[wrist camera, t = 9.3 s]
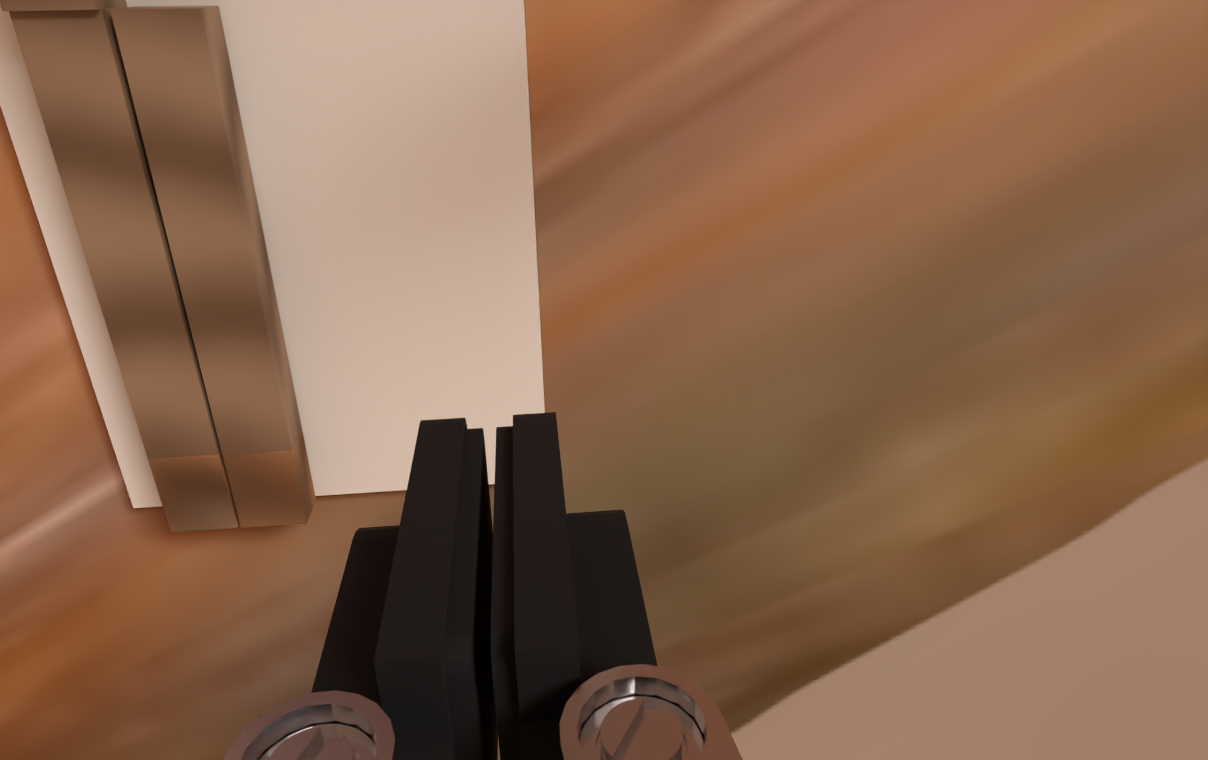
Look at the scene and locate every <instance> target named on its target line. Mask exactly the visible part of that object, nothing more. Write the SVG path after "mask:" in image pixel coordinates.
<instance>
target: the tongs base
mask: <svg viewBox="0 0 1208 760" xmlns="http://www.w3.org/2000/svg"><path fill="white" fill-rule="evenodd" d="M0 6H1V9H2V11H9V13H10V17H11V20H12V23H13V26H14V30H15V33H16V36H17V39H18V42H19V46H20V49H21V52H22V55H23V59H24V62H25V65H26V68H27V71H28V75H29V78H30V81H31V84H32V88H33V91H34V94H35V97H36V100H37V104H38V107H39V110H40V113H41V117H42V120H43V123H44V126H45V129H46V133H47V136H48V139H49V142H50V146H51V149H52V152H53V155H54V158H55V162H56V165H57V168H58V171H59V175H60V178H61V181H62V184H63V187H64V191H65V194H66V197H67V200H68V204H69V207H70V210H71V213H72V216H73V220H74V223H75V226H76V229H77V233H78V236H79V239H80V242H81V245H82V249H83V252H84V255H85V258H86V262H87V265H88V268H89V271H90V274H91V278H92V281H93V284H94V287H95V291H96V294H97V297H98V300H99V303H100V307H101V310H102V313H103V316H104V319H105V323H106V326H107V329H108V332H109V336H110V339H111V342H112V345H113V348H114V352H115V355H116V358H117V361H118V365H119V368H120V371H121V374H122V377H123V381H124V384H125V387H126V390H127V394H128V397H129V400H130V403H131V406H132V410H133V413H134V416H135V419H136V423H137V426H138V429H139V432H140V435H141V439H142V442H143V445H144V448H145V452H146V455H147V458H148V461H149V464H150V468H151V471H152V474H153V477H154V481H155V484H156V487H157V490H158V493H159V497H160V500H161V503H162V506H163V510H164V513H165V516H166V519H167V522H168V526H169V529H170V532H185V531H199V530H214V529H228V528H238V526H239V524H240V523H239V519H238V515H237V511H236V507H235V503H234V499H233V495H232V491H231V487H230V483H229V480H228V476H227V472H226V468H225V464H224V460H223V456H222V452H221V448H220V444H219V440H218V436H217V432H216V428H215V424H214V420H213V416H212V412H211V408H210V404H209V400H208V396H207V392H206V388H205V384H204V380H203V376H202V372H201V368H200V364H199V360H198V357H197V353H196V349H195V345H194V341H193V337H192V333H191V329H190V325H189V321H188V317H187V313H186V309H185V305H184V301H183V297H182V293H181V289H180V285H179V281H178V277H177V273H176V269H175V265H174V261H173V257H172V253H171V249H170V245H169V241H168V237H167V234H166V230H165V226H164V222H163V218H162V214H161V210H160V206H159V202H158V198H157V194H156V190H155V186H154V182H153V178H152V174H151V170H150V166H149V162H148V158H147V154H146V150H145V146H144V142H143V138H142V134H141V130H140V126H139V122H138V118H137V114H136V110H135V107H134V103H133V99H132V95H131V91H130V87H129V83H128V79H127V75H126V71H125V67H124V63H123V59H122V55H121V51H120V47H119V43H118V39H117V35H116V31H115V27H114V23H113V19H112V15H111V11H110V9H117V8H125V7H127V3H126V0H0Z"/></svg>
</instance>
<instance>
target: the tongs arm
mask: <svg viewBox="0 0 1208 760" xmlns="http://www.w3.org/2000/svg"><path fill="white" fill-rule="evenodd" d="M110 11H111V15H112V19H113V23H114V27H115V31H116V35H117V39H118V43H119V47H120V51H121V55H122V59H123V63H124V67H125V71H126V75H127V79H128V83H129V87H130V91H131V95H132V99H133V103H134V107H135V110H136V114H137V118H138V122H139V126H140V130H141V134H142V138H143V142H144V146H145V150H146V154H147V158H148V162H149V166H150V170H151V174H152V178H153V182H154V186H155V190H156V194H157V198H158V202H159V206H160V210H161V214H162V218H163V222H164V226H165V230H166V234H167V237H168V241H169V245H170V249H171V253H172V257H173V261H174V265H175V269H176V273H177V277H178V281H179V285H180V289H181V293H182V297H183V301H184V305H185V309H186V313H187V317H188V321H189V325H190V329H191V333H192V337H193V341H194V345H195V349H196V353H197V357H198V360H199V364H200V368H201V372H202V376H203V380H204V384H205V388H206V392H207V396H208V400H209V404H210V408H211V412H212V416H213V420H214V424H215V428H216V432H217V436H218V440H219V444H220V448H221V452H222V456H223V460H224V464H225V468H226V472H227V476H228V480H229V483H230V487H231V491H232V495H233V499H234V503H235V507H236V511H237V515H238V519H239V523H240V527H241V528H246V527H262V526H278V525H293V524H307V522H308V519H309V517H310V514H311V511H312V508H313V505H314V503H315V500H316V497H315V492H314V487H313V482H312V477H311V472H310V467H309V461H308V456H307V451H306V446H305V441H304V436H303V431H302V426H301V421H300V416H299V411H298V406H297V401H296V396H295V390H294V385H293V380H292V375H291V370H290V365H289V360H288V355H287V350H286V345H285V340H284V335H283V330H282V324H281V319H280V314H279V309H278V304H277V299H276V294H275V289H274V284H273V279H272V274H271V269H270V264H269V258H268V253H267V248H266V243H265V238H264V233H263V228H262V223H261V218H260V213H259V208H258V203H257V198H256V192H255V187H254V182H253V177H252V172H251V167H250V162H249V157H248V152H247V147H246V142H245V137H244V132H243V126H242V121H241V116H240V111H239V106H238V101H237V96H236V91H235V86H234V81H233V76H232V71H231V66H230V61H229V55H228V50H227V45H226V40H225V35H224V30H223V25H222V20H221V15H220V10H219V6H136V7H125V8H117V9H110Z"/></svg>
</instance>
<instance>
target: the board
mask: <svg viewBox="0 0 1208 760" xmlns="http://www.w3.org/2000/svg"><path fill="white" fill-rule="evenodd" d="M126 3H127V7H136V6H219V10H220V15H221V20H222V25H223V30H224V35H225V40H226V45H227V50H228V55H229V61H230V66H231V71H232V76H233V81H234V86H235V91H236V96H237V101H238V106H239V111H240V116H241V121H242V126H243V132H244V137H245V142H246V147H247V152H248V157H249V162H250V167H251V172H252V177H253V182H254V187H255V192H256V198H257V203H258V208H259V213H260V218H261V223H262V228H263V233H264V238H265V243H266V248H267V253H268V258H269V264H270V269H271V274H272V279H273V284H274V289H275V294H276V299H277V304H278V309H279V314H280V319H281V324H282V330H283V335H284V340H285V345H286V350H287V355H288V360H289V365H290V370H291V375H292V380H293V385H294V390H295V396H296V401H297V406H298V411H299V416H300V421H301V426H302V431H303V436H304V441H305V446H306V451H307V456H308V461H309V467H310V472H311V477H312V482H313V487H314V492H315V496H323V495H338V494H353V493H368V492H383V491H398V490H407V486H408V481H409V476H410V471H411V466H412V460H413V455H414V450H415V445H416V440H417V435H418V429H419V424H420V421H421V420H434V419H451V418H465V419H466V423H467V429H474V428H483V431H484V440H485V451H486V462H487V473H488V484H495V453H496V427H507V426H513V415H518V414H535V413H545V409H544V390H543V370H542V350H541V330H540V311H539V291H538V271H537V251H536V232H535V212H534V192H533V172H532V153H531V133H530V113H529V93H528V73H527V54H526V34H525V14H524V0H126ZM0 106H1V109H2V112H3V115H4V118H5V121H6V124H7V127H8V130H9V133H10V136H11V139H12V142H13V145H14V148H15V151H16V154H17V157H18V160H19V164H20V167H21V170H22V173H23V176H24V179H25V182H26V185H27V188H28V191H29V194H30V197H31V200H32V203H33V206H34V209H35V212H36V215H37V218H38V221H39V224H40V227H41V230H42V233H43V236H44V239H45V242H46V245H47V248H48V251H49V254H50V257H51V260H52V263H53V266H54V269H55V272H56V276H57V279H58V282H59V285H60V288H61V291H62V294H63V297H64V300H65V303H66V306H67V309H68V312H69V315H70V318H71V321H72V324H73V327H74V330H75V333H76V336H77V339H78V342H79V345H80V348H81V351H82V354H83V357H84V360H85V363H86V366H87V369H88V372H89V375H90V378H91V381H92V384H93V388H94V391H95V394H96V397H97V400H98V403H99V406H100V409H101V412H102V415H103V418H104V421H105V424H106V427H107V430H108V433H109V436H110V439H111V442H112V445H113V448H114V451H115V454H116V457H117V460H118V463H119V466H120V469H121V472H122V475H123V478H124V481H125V484H126V487H127V490H128V493H129V496H130V500H131V503H132V506H133V508H144V507H159V506H162V503H161V500H160V497H159V493H158V490H157V487H156V484H155V481H154V477H153V474H152V471H151V468H150V464H149V461H148V458H147V455H146V452H145V448H144V445H143V442H142V439H141V435H140V432H139V429H138V426H137V423H136V419H135V416H134V413H133V410H132V406H131V403H130V400H129V397H128V394H127V390H126V387H125V384H124V381H123V377H122V374H121V371H120V368H119V365H118V361H117V358H116V355H115V352H114V348H113V345H112V342H111V339H110V336H109V332H108V329H107V326H106V323H105V319H104V316H103V313H102V310H101V307H100V303H99V300H98V297H97V294H96V291H95V287H94V284H93V281H92V278H91V274H90V271H89V268H88V265H87V262H86V258H85V255H84V252H83V249H82V245H81V242H80V239H79V236H78V233H77V229H76V226H75V223H74V220H73V216H72V213H71V210H70V207H69V204H68V200H67V197H66V194H65V191H64V187H63V184H62V181H61V178H60V175H59V171H58V168H57V165H56V162H55V158H54V155H53V152H52V149H51V146H50V142H49V139H48V136H47V133H46V129H45V126H44V123H43V120H42V117H41V113H40V110H39V107H38V104H37V100H36V97H35V94H34V91H33V88H32V84H31V81H30V78H29V75H28V71H27V68H26V65H25V62H24V59H23V55H22V52H21V49H20V46H19V42H18V39H17V36H16V33H15V30H14V26H13V23H12V20H11V17H10V13H9V11H2V9H1V6H0Z"/></svg>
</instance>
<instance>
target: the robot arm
mask: <svg viewBox="0 0 1208 760" xmlns="http://www.w3.org/2000/svg"><path fill="white" fill-rule="evenodd" d="M498 738H499V748H500V758H501V760H743V759H742V757H741V756H740V753H739V751H738V749H737V747H736V744H735V742H734V740H733V738H732V736H731V734H730V732H729V730H728V727H727V725H726V723H725V721H724V719H723V717H722V715H721V713H720V711H719V709H718V707H717V706H716V704H715V703H714V701H713V700H712V699H711V697H710V696H709V694H708V693H707V691H705V690H704V689H703V688H702V687H700V686H699V685H698V684H697V683H695V682H694V681H693V680H692V679H690V678H689V677H687V676H685V675H683V674H680V673H678V672H676V671H673V670H671V669H669V668H665V667H659V666H657V662H656V657H655V653H654V648H653V643H652V638H651V633H650V629H649V624H648V619H647V614H646V610H645V605H644V600H643V595H642V591H641V586H640V581H639V576H638V571H637V567H636V562H635V557H634V552H633V548H632V543H631V538H630V533H629V529H628V524H627V519H626V516H625V512H624V511H623V510H611V511H597V512H583V513H569V514H566V508H565V499H564V489H563V479H562V469H561V460H560V450H559V440H558V430H557V421H556V413H555V412H552V413H535V414H518V415H513V426H507V427H496V453H495V488H494V524H493V529H492V517H491V506H490V495H489V484H488V473H487V462H486V451H485V440H484V431H483V428H474V429H467V423H466V419H465V418H451V419H434V420H421V421H420V424H419V429H418V435H417V440H416V445H415V450H414V455H413V460H412V466H411V471H410V476H409V481H408V486H407V491H406V497H405V502H404V507H403V512H402V517H401V522H400V525H398V526H384V527H369V528H359V529H358V530H357V531H356V533H355V535H354V538H353V541H352V544H351V548H350V552H349V555H348V559H347V563H346V566H345V570H344V574H343V578H342V581H341V585H340V589H339V592H338V596H337V600H336V603H335V607H334V611H333V615H332V618H331V622H330V626H329V629H328V633H327V637H326V640H325V644H324V648H323V652H322V655H321V659H320V663H319V666H318V670H317V674H316V677H315V681H314V685H313V689H312V692H311V693H309V694H306V695H303V696H300V697H296V698H293V699H290V700H287V701H285V702H283V703H281V704H279V705H278V706H276V707H274V708H272V709H270V710H269V711H267V712H265V713H263V714H262V715H260V716H259V717H258V718H257V719H256V720H254V721H253V722H252V723H251V724H250V725H249V726H248V727H246V728H245V729H244V730H243V731H242V732H241V733H240V734H239V735H238V737H237V738H236V739H235V741H234V742H233V744H232V745H231V746H230V748H229V749H228V751H227V752H226V753H225V755H224V757H223V758H222V760H497V756H498Z"/></svg>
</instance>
